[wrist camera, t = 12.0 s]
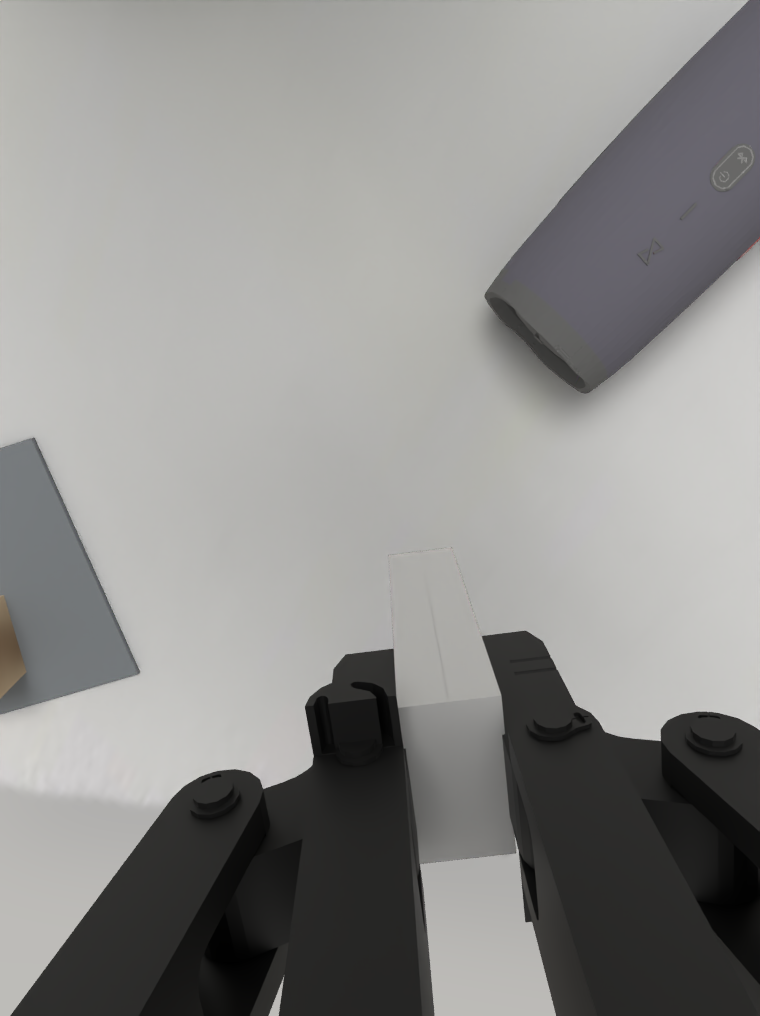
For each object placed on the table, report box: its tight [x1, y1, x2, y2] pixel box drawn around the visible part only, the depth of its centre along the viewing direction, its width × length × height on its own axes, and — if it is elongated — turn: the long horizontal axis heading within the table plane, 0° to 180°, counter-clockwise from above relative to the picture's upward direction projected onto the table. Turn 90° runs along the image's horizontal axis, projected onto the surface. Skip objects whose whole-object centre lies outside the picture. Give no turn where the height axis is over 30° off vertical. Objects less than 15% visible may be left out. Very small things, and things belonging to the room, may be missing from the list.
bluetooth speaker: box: [485, 0, 760, 393], centre depth 37 cm, size 23×9×10 cm, turn 137°
